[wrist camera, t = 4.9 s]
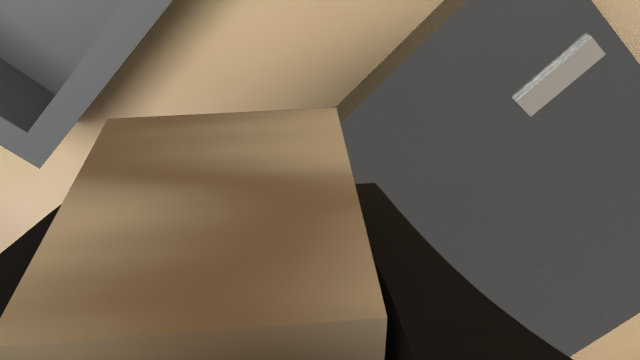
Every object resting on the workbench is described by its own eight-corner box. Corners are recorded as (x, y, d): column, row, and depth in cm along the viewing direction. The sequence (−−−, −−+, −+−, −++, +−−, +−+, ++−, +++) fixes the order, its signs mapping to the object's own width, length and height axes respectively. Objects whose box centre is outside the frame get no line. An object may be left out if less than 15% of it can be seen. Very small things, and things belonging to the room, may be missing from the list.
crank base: (416, 428, 29) (422, 454, 28) (156, 284, 22) (150, 310, 21) (743, 214, 23) (769, 235, 21) (521, -76, 16) (542, -68, 15)
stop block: (149, 287, 12) (85, 542, 8) (107, 118, 10) (-16, 346, 5) (336, 275, 12) (372, 516, 8) (336, 107, 10) (387, 317, 6)
